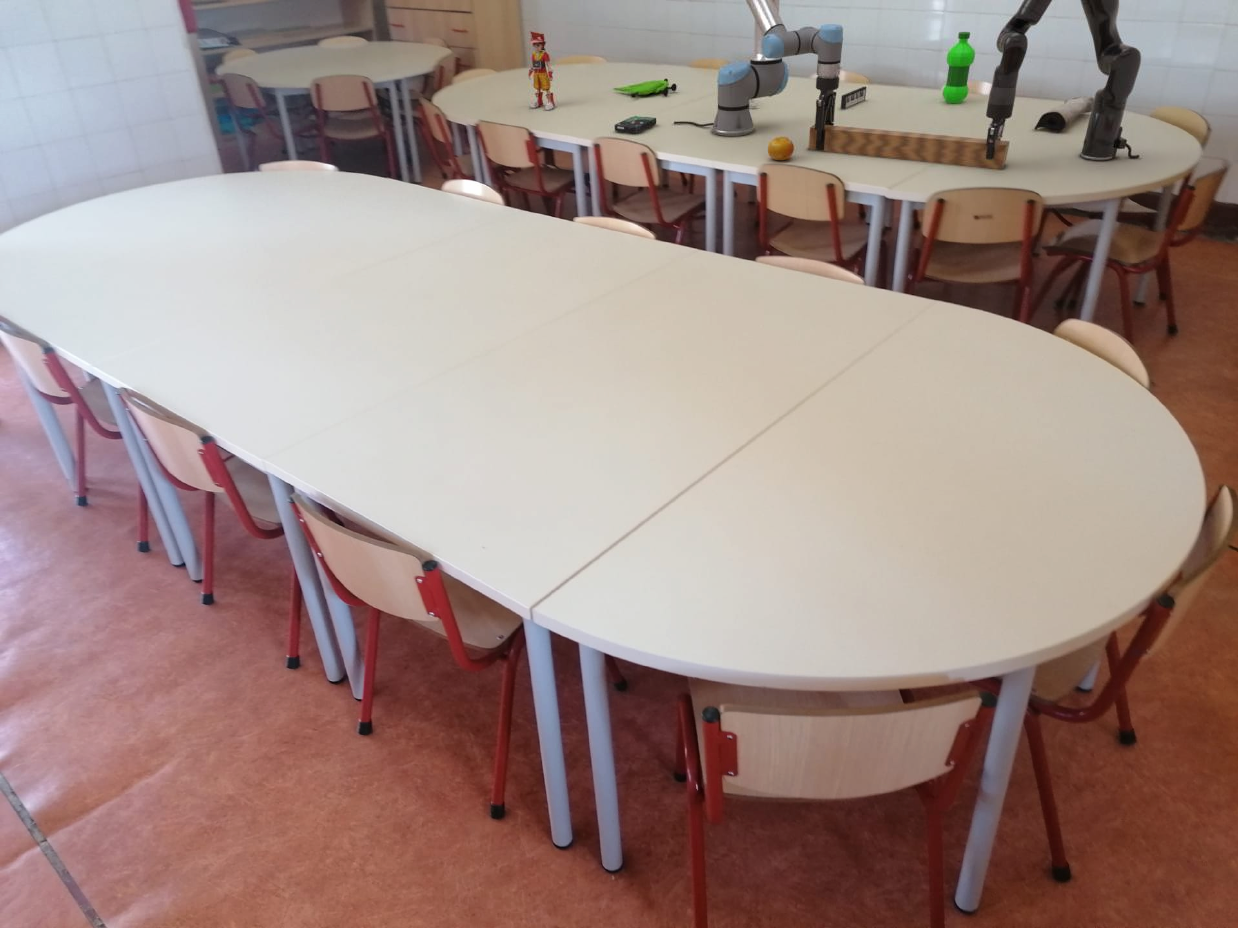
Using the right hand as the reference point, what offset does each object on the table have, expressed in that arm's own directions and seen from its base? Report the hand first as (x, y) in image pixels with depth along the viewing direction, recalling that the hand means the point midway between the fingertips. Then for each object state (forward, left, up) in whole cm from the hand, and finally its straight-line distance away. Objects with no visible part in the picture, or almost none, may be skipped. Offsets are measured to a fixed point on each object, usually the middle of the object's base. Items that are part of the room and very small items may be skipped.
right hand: (991, 156), depth 286 cm
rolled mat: (-46, -41, -3) cm, 62 cm away
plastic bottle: (-22, -81, -3) cm, 84 cm away
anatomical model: (+59, -102, -3) cm, 118 cm away
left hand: (+45, -33, -2) cm, 56 cm away
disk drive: (+106, -79, -3) cm, 132 cm away
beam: (+23, -16, -3) cm, 28 cm away
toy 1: (+141, -125, -3) cm, 188 cm away
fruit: (+62, -25, -3) cm, 67 cm away
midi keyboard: (+16, -89, -3) cm, 91 cm away
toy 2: (+97, -139, -3) cm, 170 cm away
